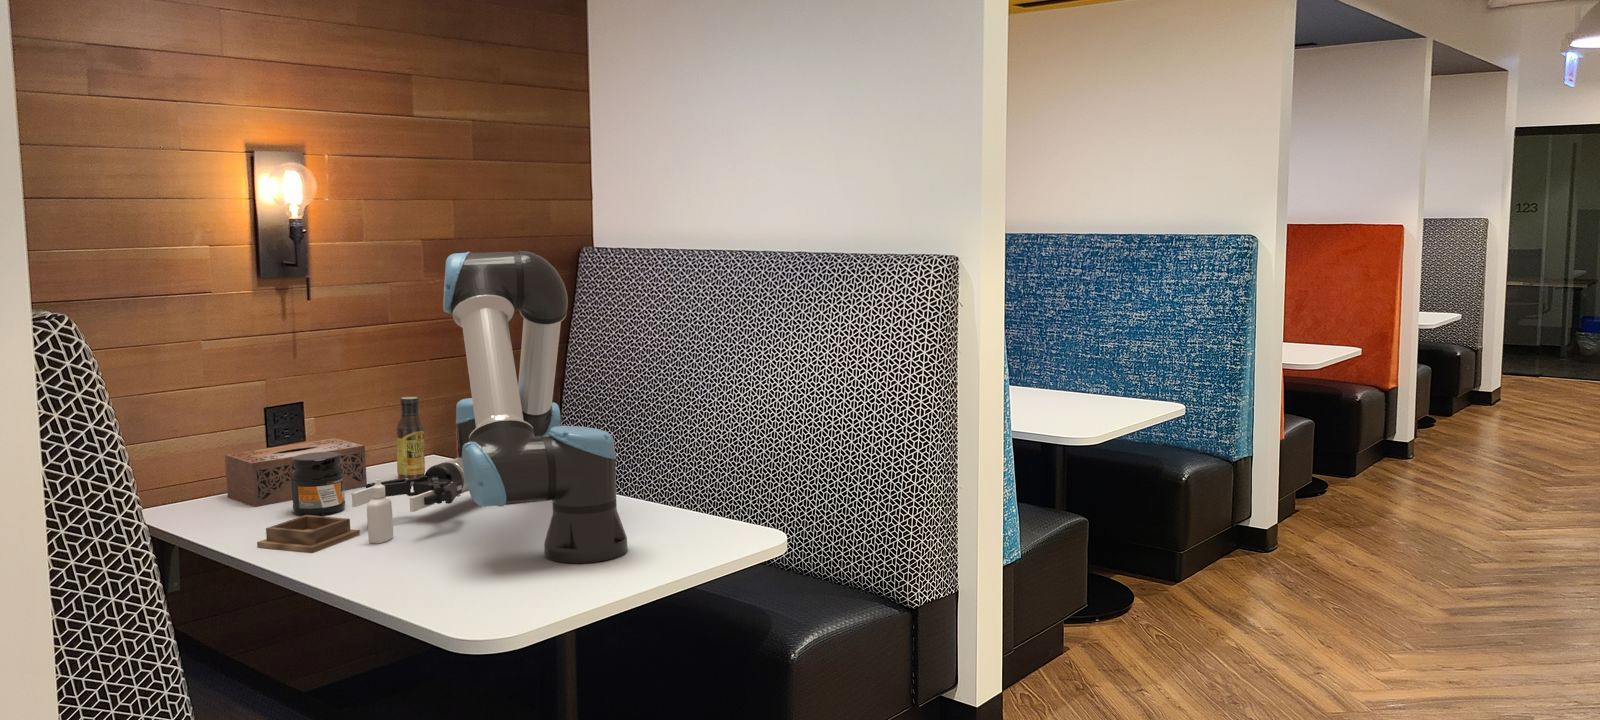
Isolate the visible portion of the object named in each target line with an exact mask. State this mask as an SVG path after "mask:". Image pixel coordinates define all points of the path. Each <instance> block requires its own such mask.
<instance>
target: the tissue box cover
mask: <svg viewBox="0 0 1600 720" xmlns="http://www.w3.org/2000/svg"><path fill="white" fill-rule="evenodd" d="M314 452H335V453H339V454H340V458H341V463H340V464H339V465H340V466H341V467H342V468H343V470H344V474H343V477H344V492H346V491H351V490H356V489H361V488H366V484H368V481H367V479H368V478H367V464H366V463H367V462H366V447H365V445H363V444H360V443H357V442H351V441H350V440H344V439H340V438H335V437H334V438H328V439H322V440H315V441H309V442H308V441H307V442H302V443H301V442H300V443H295V444H289V445H282V446H281V445H280V446H275V447H274V446H273V447H267V448H262V449H254V450H247V451H241V452H235V453H228V454H225V455H224V461H225V476H226V477H225V478H226V491H227V498H228V499H232V500H234V501H236V502H240V503H243V504H245V505H247V506H251V507H253V508H258V507H264V506H268V505H269V506H270V505H275V504H280V503H286V502H290V501H292V502H293V497H292V482H291V477H290V474H291V472H292V471H293V470H294V468H293V466H292V458H293V457H295V456H297V455H301V454H306V453H314Z"/></svg>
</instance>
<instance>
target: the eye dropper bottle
mask: <svg viewBox="0 0 1600 720" xmlns="http://www.w3.org/2000/svg"><path fill="white" fill-rule="evenodd" d="M381 482H382V481H381V479H380V478H376V479H375V482H374V483H375V485H374V486H372V497H373V498H372V499H371V500H370V501H369V503H367V504H366V505H367V506H366V518H367V519H366V520H367V536H368V543H369V544H383V543H386V542H388V541H390V540H391V539H393V537H394V522H393V521H394V520H393V518H394V517H393V505H392V503H393V502H392V500H391V498H390V497H389V496H388V497H385V486H384V485H382V484H381Z"/></svg>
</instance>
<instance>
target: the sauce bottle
mask: <svg viewBox="0 0 1600 720" xmlns="http://www.w3.org/2000/svg"><path fill="white" fill-rule="evenodd" d="M419 401H420V400H419V397H417V396H404V397H400V404H401V405H400V406H401V413H400V414H401V418H400V420H399V421H398V423H397V425H396V426H397V427H396V466H397V471H396V472H397V479H400V478H404V477H407V476H409V477H411V478H418V477H419V476H424V475H425V473H426V467H425V466H426V464H425V463H426V461H425V459H426V458H425V431H424V428H423V425H422V423H421V420H420V417H419Z"/></svg>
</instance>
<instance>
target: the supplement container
mask: <svg viewBox="0 0 1600 720" xmlns="http://www.w3.org/2000/svg"><path fill="white" fill-rule="evenodd" d="M340 463H341V458H340V454H339V453H335V452H314V453H306V454H301V455H297V456H295V457H293V458H292V466H293V468H294V470H293V471H292V472H291V474H290V477H291V482H292V497H293V500H292V510H293V513H295V514H296V515H299V516H304V515H313V516H328V515H332V514H335V513H336V514H337V513H338V512H340V511H342V510H343V509H344V508H345V507H346V498H345V497H346V496H345V491H344V477H343V474H344V470H343V468H342V467H341V466H340V465H339V464H340Z"/></svg>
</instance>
